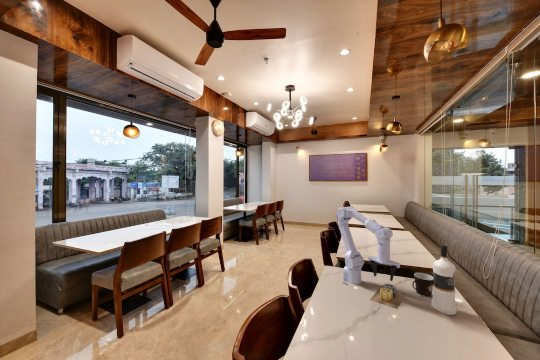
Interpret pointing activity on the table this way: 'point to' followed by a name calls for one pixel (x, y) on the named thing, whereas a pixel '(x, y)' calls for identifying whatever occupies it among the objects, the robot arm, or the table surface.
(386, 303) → the board
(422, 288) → the coffee mug
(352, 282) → the robot arm
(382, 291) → the brass gear
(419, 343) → the table surface
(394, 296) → the steel gear
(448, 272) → the vodka
